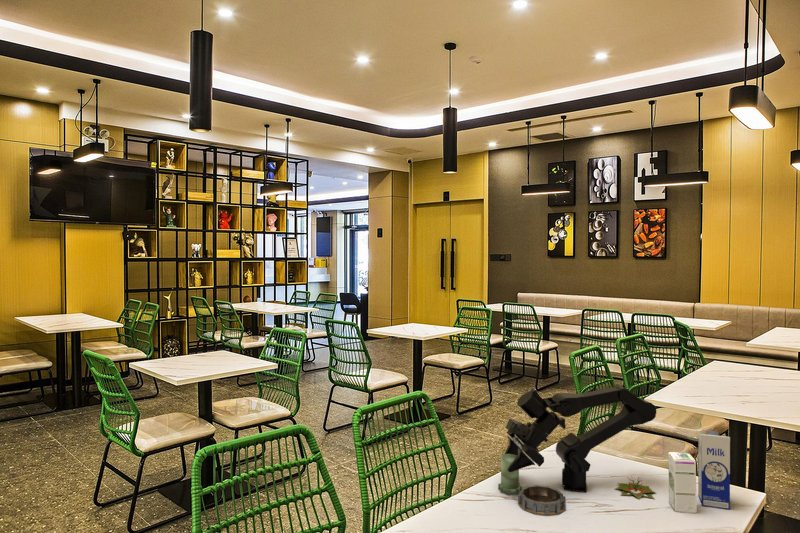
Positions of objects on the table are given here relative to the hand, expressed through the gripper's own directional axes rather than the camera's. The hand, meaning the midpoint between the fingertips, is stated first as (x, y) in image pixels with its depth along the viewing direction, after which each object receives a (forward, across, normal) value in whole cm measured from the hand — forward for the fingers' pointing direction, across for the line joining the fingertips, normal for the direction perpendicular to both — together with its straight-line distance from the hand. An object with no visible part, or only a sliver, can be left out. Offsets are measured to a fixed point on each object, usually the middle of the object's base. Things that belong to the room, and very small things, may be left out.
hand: (505, 466), depth 160 cm
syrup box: (-27, +16, +37) cm, 48 cm away
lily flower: (-21, +5, +32) cm, 39 cm away
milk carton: (-34, +14, +44) cm, 58 cm away
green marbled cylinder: (+4, 0, +6) cm, 7 cm away
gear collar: (0, +10, +10) cm, 14 cm away
